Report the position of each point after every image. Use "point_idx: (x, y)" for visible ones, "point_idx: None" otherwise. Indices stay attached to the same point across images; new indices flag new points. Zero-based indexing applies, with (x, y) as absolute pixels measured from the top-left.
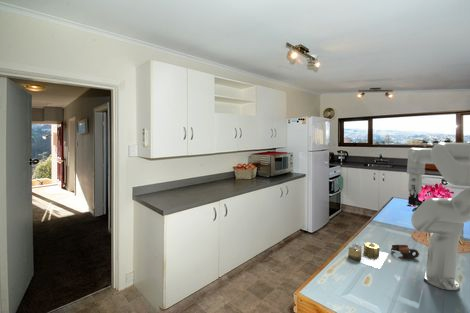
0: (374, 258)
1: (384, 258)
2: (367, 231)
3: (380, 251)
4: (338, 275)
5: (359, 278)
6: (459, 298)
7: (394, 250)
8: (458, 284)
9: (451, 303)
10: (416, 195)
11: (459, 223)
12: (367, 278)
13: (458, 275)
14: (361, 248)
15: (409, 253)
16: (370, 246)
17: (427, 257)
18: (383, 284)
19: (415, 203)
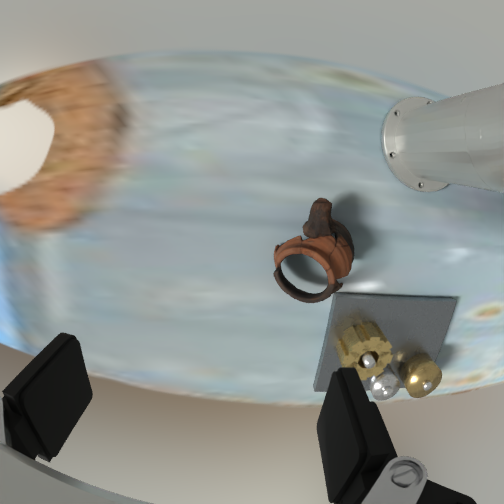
0: (400, 327)
1: (385, 303)
2: (133, 371)
3: (332, 322)
4: (487, 359)
5: (488, 325)
6: None
7: (289, 282)
8: (425, 99)
9: None
10: (38, 404)
11: None
12: (484, 313)
13: (338, 79)
14: None
15: (339, 233)
16: (380, 361)
17: (462, 185)
18: (494, 278)
19: (361, 382)
